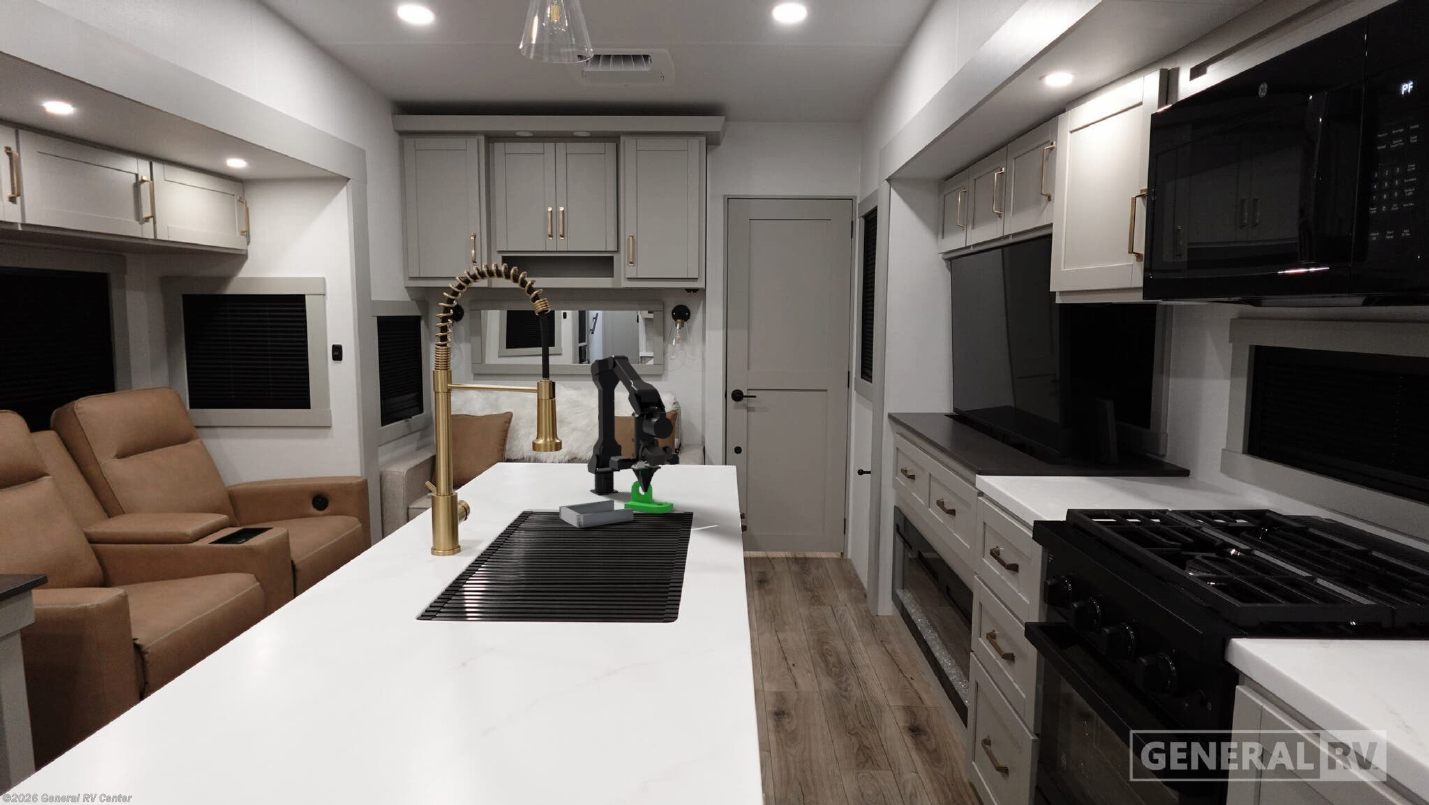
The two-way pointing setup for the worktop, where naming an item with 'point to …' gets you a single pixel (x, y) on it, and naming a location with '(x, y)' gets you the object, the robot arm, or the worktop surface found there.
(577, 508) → the seating bracket
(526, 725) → the worktop surface
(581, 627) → the worktop surface
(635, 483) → the mechanical part
